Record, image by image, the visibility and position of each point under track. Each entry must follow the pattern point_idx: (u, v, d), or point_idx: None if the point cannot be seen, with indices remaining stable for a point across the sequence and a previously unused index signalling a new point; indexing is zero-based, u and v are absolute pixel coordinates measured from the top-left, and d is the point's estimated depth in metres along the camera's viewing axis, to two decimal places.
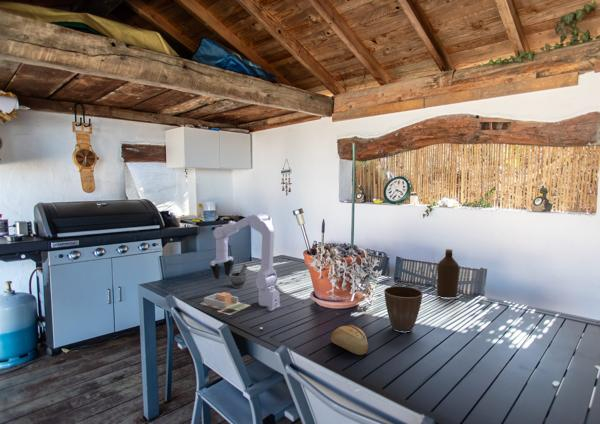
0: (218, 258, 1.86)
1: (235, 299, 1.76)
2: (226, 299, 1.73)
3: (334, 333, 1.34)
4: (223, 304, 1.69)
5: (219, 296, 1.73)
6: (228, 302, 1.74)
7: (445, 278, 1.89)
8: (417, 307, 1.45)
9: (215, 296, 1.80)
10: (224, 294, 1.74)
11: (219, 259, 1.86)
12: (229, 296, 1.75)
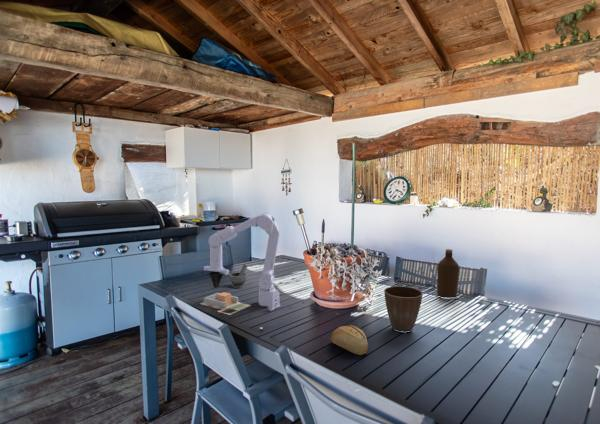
0: None
1: (235, 299, 1.76)
2: (226, 299, 1.73)
3: (334, 333, 1.34)
4: (223, 304, 1.69)
5: (219, 296, 1.73)
6: (228, 302, 1.74)
7: (445, 278, 1.89)
8: (417, 307, 1.45)
9: (215, 296, 1.80)
10: (224, 294, 1.74)
11: None
12: (229, 296, 1.75)
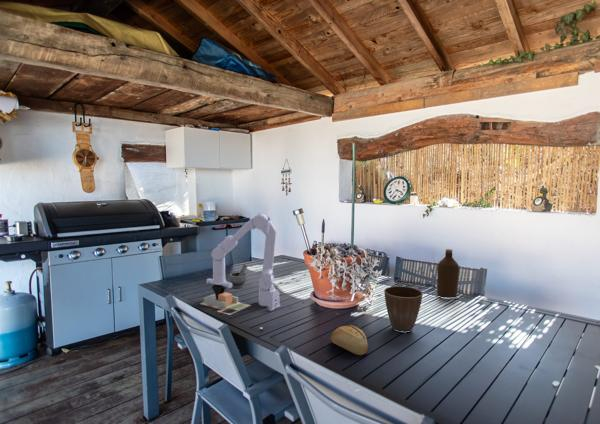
0: None
1: (235, 299, 1.76)
2: (227, 299, 1.73)
3: (334, 333, 1.34)
4: (223, 304, 1.69)
5: (220, 296, 1.73)
6: (229, 302, 1.74)
7: (445, 278, 1.89)
8: (417, 307, 1.45)
9: (215, 296, 1.80)
10: (225, 294, 1.74)
11: None
12: (230, 296, 1.74)
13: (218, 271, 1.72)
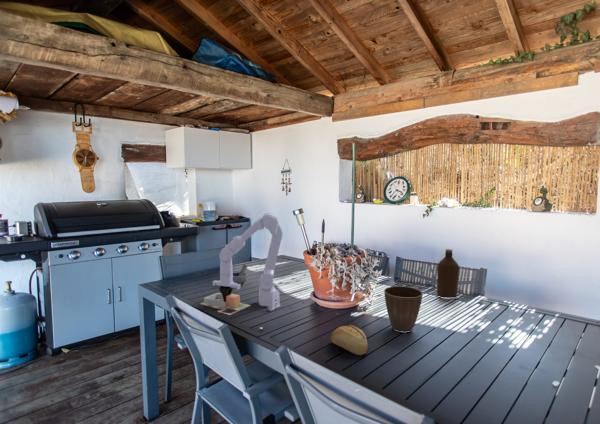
0: None
1: None
2: (235, 301, 1.71)
3: (334, 333, 1.34)
4: (223, 304, 1.69)
5: (228, 298, 1.71)
6: (237, 304, 1.72)
7: (445, 278, 1.89)
8: (417, 307, 1.45)
9: (215, 296, 1.80)
10: (233, 296, 1.72)
11: None
12: (238, 298, 1.72)
13: (226, 272, 1.70)
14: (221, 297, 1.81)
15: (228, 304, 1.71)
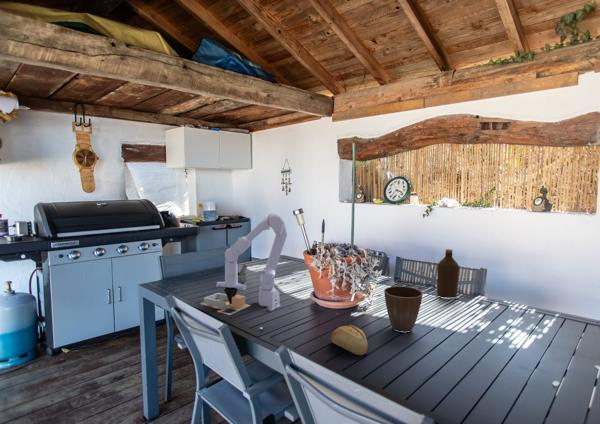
0: None
1: None
2: (242, 302, 1.70)
3: (334, 333, 1.34)
4: (223, 304, 1.69)
5: (234, 299, 1.69)
6: (243, 304, 1.71)
7: (445, 278, 1.89)
8: (417, 307, 1.45)
9: (215, 296, 1.80)
10: (239, 297, 1.71)
11: None
12: (244, 298, 1.72)
13: (232, 273, 1.69)
14: (221, 297, 1.81)
15: (234, 305, 1.70)
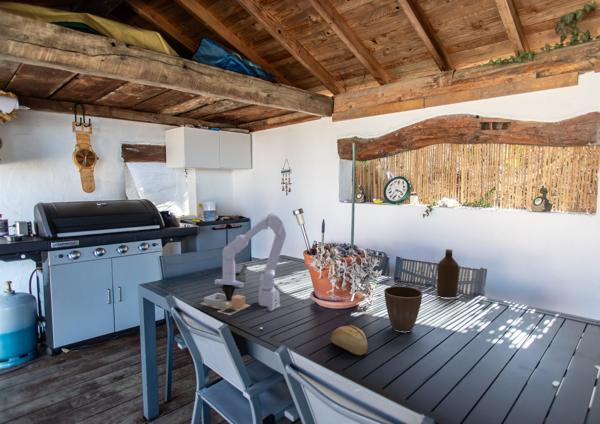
0: None
1: None
2: (241, 302, 1.70)
3: (334, 333, 1.34)
4: (223, 304, 1.69)
5: (234, 299, 1.69)
6: (243, 304, 1.71)
7: (445, 278, 1.89)
8: (417, 307, 1.45)
9: (215, 296, 1.80)
10: (239, 297, 1.71)
11: None
12: (244, 298, 1.72)
13: (229, 271, 1.69)
14: (221, 297, 1.81)
15: (234, 305, 1.70)
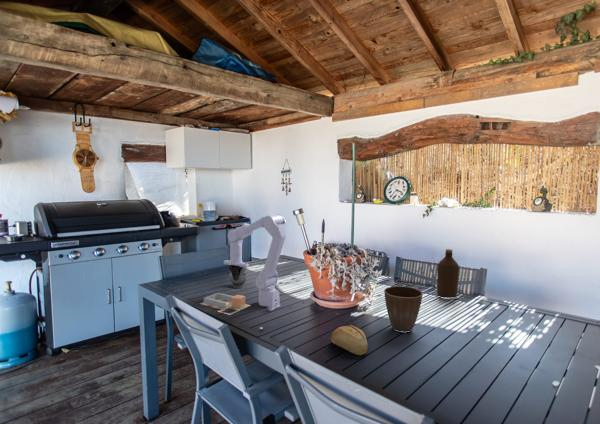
0: None
1: None
2: (241, 302, 1.70)
3: (334, 333, 1.34)
4: (223, 304, 1.69)
5: (234, 299, 1.69)
6: (243, 304, 1.71)
7: (445, 278, 1.89)
8: (417, 307, 1.45)
9: (215, 296, 1.80)
10: (239, 297, 1.71)
11: None
12: (244, 298, 1.72)
13: (232, 252, 1.82)
14: (221, 297, 1.81)
15: (234, 305, 1.70)
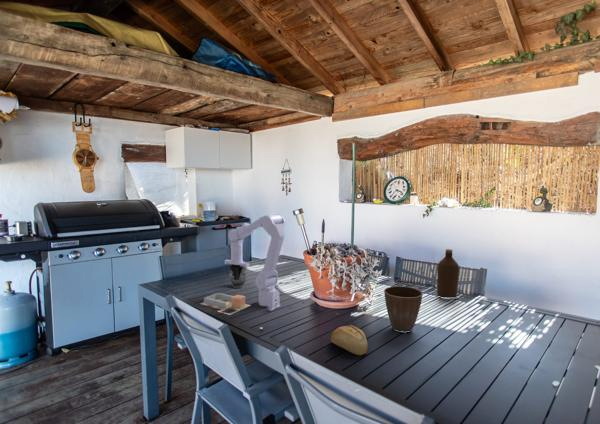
0: None
1: None
2: (241, 302, 1.70)
3: (334, 333, 1.34)
4: (223, 304, 1.69)
5: (234, 299, 1.69)
6: (243, 304, 1.71)
7: (445, 278, 1.89)
8: (417, 307, 1.45)
9: (215, 296, 1.80)
10: (239, 297, 1.71)
11: None
12: (244, 298, 1.72)
13: (233, 251, 1.83)
14: (221, 297, 1.81)
15: (234, 305, 1.70)
